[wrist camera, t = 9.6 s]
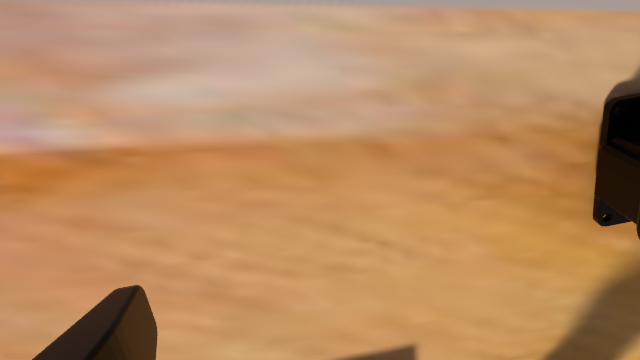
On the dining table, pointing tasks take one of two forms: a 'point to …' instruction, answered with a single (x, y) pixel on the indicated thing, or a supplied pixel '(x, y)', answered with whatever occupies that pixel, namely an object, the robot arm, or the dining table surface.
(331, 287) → the dining table surface
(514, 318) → the dining table surface
